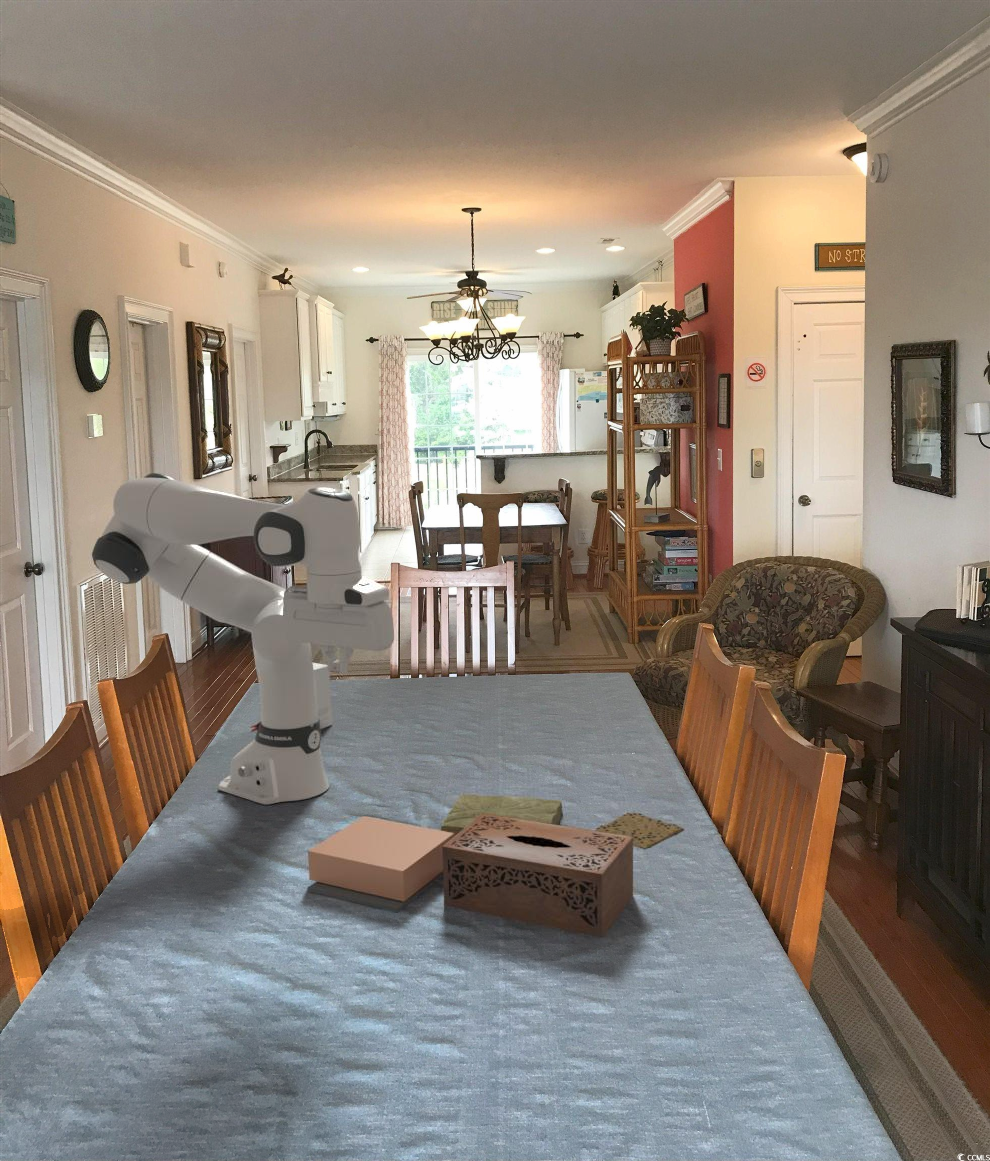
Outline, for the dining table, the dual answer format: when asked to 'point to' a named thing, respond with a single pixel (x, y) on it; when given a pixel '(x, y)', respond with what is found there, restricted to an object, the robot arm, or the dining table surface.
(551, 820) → the decorative tile
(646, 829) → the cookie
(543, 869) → the tissue box cover
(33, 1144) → the dining table surface
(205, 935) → the dining table surface
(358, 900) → the slate mat
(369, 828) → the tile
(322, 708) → the supplement box
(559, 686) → the dining table surface
